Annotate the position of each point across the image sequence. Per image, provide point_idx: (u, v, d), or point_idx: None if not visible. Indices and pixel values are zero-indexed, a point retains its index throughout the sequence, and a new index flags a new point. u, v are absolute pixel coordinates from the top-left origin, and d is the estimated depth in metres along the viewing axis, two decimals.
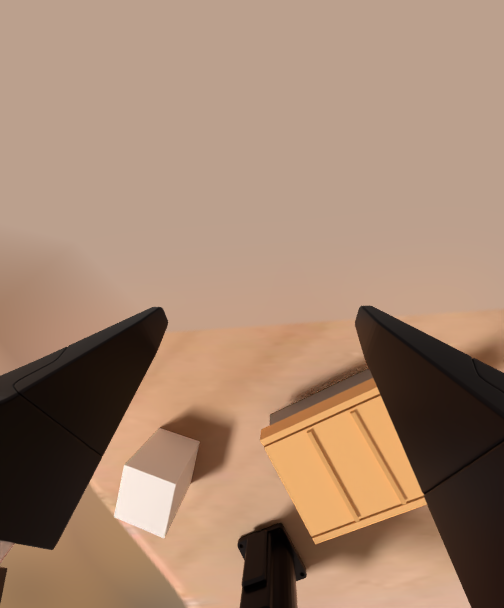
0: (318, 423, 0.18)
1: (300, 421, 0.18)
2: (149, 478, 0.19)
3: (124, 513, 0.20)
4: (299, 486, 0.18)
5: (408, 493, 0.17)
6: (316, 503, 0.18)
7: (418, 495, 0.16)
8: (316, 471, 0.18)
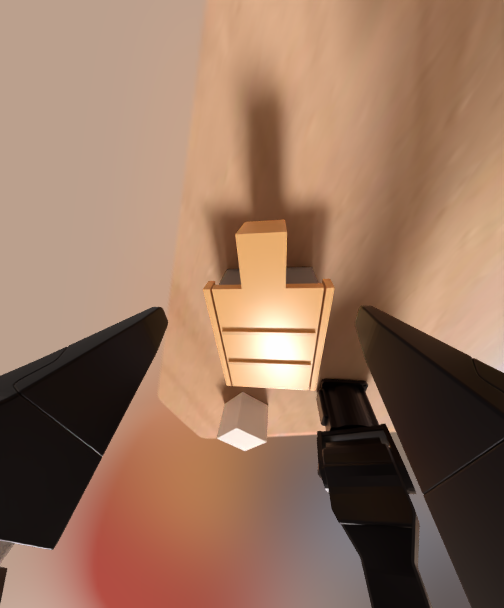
0: (225, 353, 0.20)
1: None
2: (228, 434, 0.30)
3: (244, 447, 0.32)
4: (269, 381, 0.22)
5: (311, 326, 0.17)
6: (286, 378, 0.22)
7: (317, 320, 0.17)
8: (263, 369, 0.21)
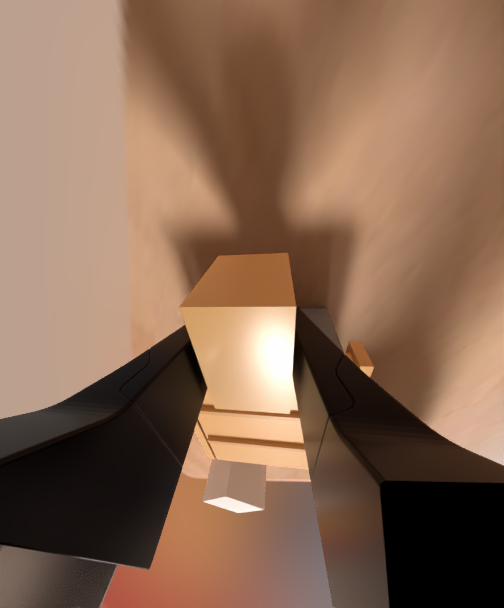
0: (203, 429, 0.14)
1: None
2: (216, 500, 0.24)
3: (237, 510, 0.26)
4: (266, 459, 0.16)
5: None
6: (290, 458, 0.15)
7: None
8: (257, 447, 0.15)
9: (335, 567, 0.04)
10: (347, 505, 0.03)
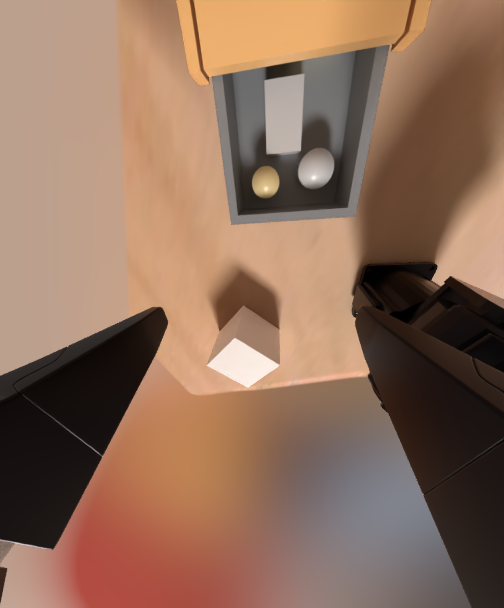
0: None
1: None
2: (223, 354, 0.20)
3: (247, 380, 0.23)
4: (298, 4, 0.08)
5: None
6: None
7: None
8: None
9: None
10: None
